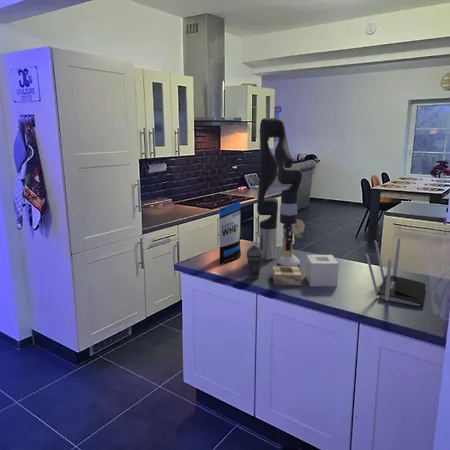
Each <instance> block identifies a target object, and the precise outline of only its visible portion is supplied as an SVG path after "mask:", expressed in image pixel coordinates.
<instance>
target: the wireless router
mask: <svg viewBox="0 0 450 450" xmlns="http://www.w3.org/2000/svg"><path fill="white" fill-rule="evenodd" d="M373 242H374V245H375V250H376V254H377V255H376V256H377V260H378V265H379V269H380V275H381V280H382V282H381V285H380V287H379V290H378V286H377V282H376V278H375V275H374V271H373V267H372V263H371V260H370V256H369V254H367V253H365V257H366V262H367V265H368V269H369V273H370V278H371V280H372V284H373V288H374V289H373V290H374V292H375V296H376V297H379V296H380V297H381V299H382V300H385V301H389V302H390V301H391V302H395V303H401V304H404V305H405V304H406V305H411V306H417V307H419V306H420V305H422V304H424V300H425V299H424V298H425V292H426V286H427V284H426V283H424V282H421V281H417V280H413V279H410V278H407V277H406V278H405V277H402V276H397V274H398V266H399V265H398V264H399V257H400V256H399V255H400V249H401V248H400V247H401V238H399V237H398V239H397V242H396V249H395V257H394V263H393V271H392V259H388V260H387V267H386V268H387V271H386V274H384V269H383V264H382V260H381V259H382V258H381V255H380V254H381V253H380V249H379V244H378V242H377V240H375V239H374V241H373ZM391 271H392V272H391ZM391 273H392V275H391Z"/></svg>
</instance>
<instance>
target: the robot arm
mask: <svg viewBox="0 0 450 450" xmlns="http://www.w3.org/2000/svg"><path fill="white" fill-rule="evenodd" d="M270 138H271V139H272V138H278V142H277V144H276V147H275V148H274V153H273V152H272V150H271V149H270V145H269V140H268V139H270ZM259 139H260V142H259V143H260V144H259V146H260V148H259V149H260V150H259V151H260V152H259V164H258V165H259V166H258V167H259V168H258V169H259V170H258V191H257V193H258V194H257V201H256V202H257V204H256V205H257V206H256V209H257V210H256V212H257V214H258V215H259V216H269V217H268V218H267V219H264V220H261V221H260V222H259V246H258V247H259V248H260V250H261V253H262V256H261V260H263V259H265V261H271V260H270V259H273V260H275V259H277V234H278V233H277V229H278V227H277V226H278V224H277V223H278V212H279V223H280V224H283V227H282V230H283V238H286V241H285V242H286V251H290V250H291V243H292V239H293V238H292V237H294V236H293V235H294V233H293V228H292V224H295V223H297V219H298V193H299V189H300V186H301V182H302V179H303V172H302V170H301V169H300V168H298V167H293V165H294V161H293V157H292V155H291V151H290V149H289V145H288V138H287V133H286V127H285V124H284V121H283V119H282V118H280V117H267V118H262V119H261V121H260V124H259ZM276 179H277V181H278V182H279V183H280V184H282V185H290V186H289V187H288V188H285V189H282V190H281V192H280V193H281V194H280V208H279V203H278V199H277V198H276V197H265V196H266V194H267V192H268V190H269V189H270V187H271V186H272V184H273V183H274V182H275V180H276ZM278 210H279V211H278ZM286 235H287V236H286ZM288 239H290V240H288ZM274 258H275V259H274Z"/></svg>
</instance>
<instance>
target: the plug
mask: <svg viewBox="0 0 450 450" xmlns="http://www.w3.org/2000/svg"><path fill="white" fill-rule="evenodd" d="M286 236H287V235H286ZM288 240H290V239H288ZM285 241H286V238H284V237H282V251H281V254H282V256H283V257H292V254H293V244H294V242H293V240H292V243H291V250H290V251H286V242H285Z"/></svg>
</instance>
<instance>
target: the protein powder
mask: <svg viewBox="0 0 450 450" xmlns="http://www.w3.org/2000/svg"><path fill="white" fill-rule="evenodd" d="M218 211H219V212H218V216H219V219H218V220H219V226H218V227H219V229H218V230H219V259H218V260H219V261H220V262H219V265H223V264H222V263H224V264H229V263H233V262H236V261H237V260H239V259H241V256H242V251H241V200H239V201H236V202H233V203H231V204H228V205H225V206H222V207H220V208H218ZM232 261H233V262H232ZM228 262H229V263H228Z"/></svg>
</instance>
